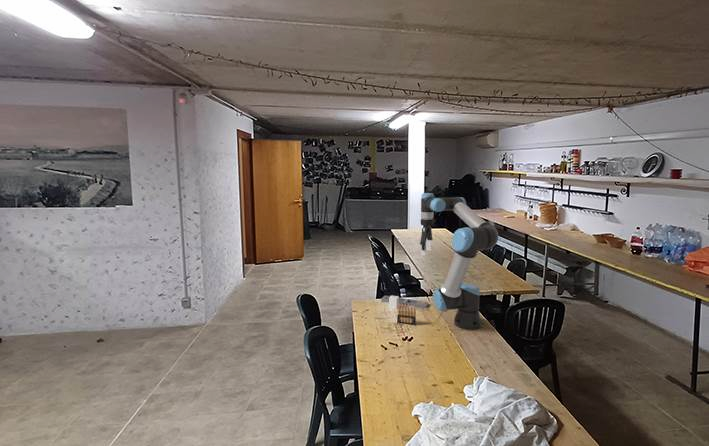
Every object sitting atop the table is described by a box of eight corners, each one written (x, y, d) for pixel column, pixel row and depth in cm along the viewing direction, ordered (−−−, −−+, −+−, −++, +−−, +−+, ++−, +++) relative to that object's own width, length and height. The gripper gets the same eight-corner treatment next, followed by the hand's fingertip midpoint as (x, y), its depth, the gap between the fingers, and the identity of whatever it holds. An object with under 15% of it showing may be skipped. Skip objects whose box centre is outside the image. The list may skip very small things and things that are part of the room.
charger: (398, 308, 250) (398, 296, 249) (396, 311, 246) (396, 298, 245) (391, 307, 252) (391, 295, 251) (388, 309, 248) (389, 297, 247)
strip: (447, 309, 249) (447, 303, 248) (445, 313, 242) (445, 307, 242) (384, 299, 265) (384, 294, 265) (381, 303, 259) (381, 298, 259)
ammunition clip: (416, 324, 226) (416, 304, 224) (415, 325, 224) (415, 305, 222) (397, 321, 229) (398, 302, 228) (397, 323, 228) (397, 303, 226)
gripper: (425, 215, 252) (425, 248, 255) (415, 221, 229) (414, 256, 232) (437, 216, 249) (436, 249, 252) (428, 221, 226) (427, 257, 229)
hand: (426, 252), depth 242 cm, fingers open, 13 cm apart
